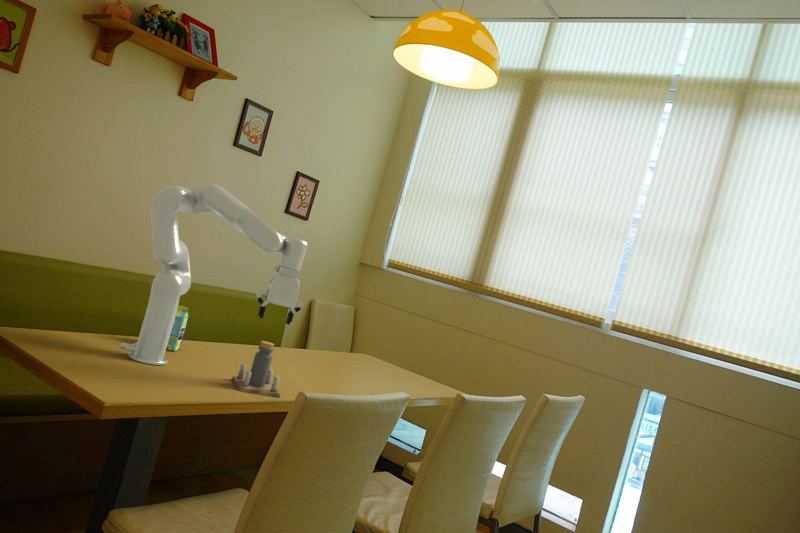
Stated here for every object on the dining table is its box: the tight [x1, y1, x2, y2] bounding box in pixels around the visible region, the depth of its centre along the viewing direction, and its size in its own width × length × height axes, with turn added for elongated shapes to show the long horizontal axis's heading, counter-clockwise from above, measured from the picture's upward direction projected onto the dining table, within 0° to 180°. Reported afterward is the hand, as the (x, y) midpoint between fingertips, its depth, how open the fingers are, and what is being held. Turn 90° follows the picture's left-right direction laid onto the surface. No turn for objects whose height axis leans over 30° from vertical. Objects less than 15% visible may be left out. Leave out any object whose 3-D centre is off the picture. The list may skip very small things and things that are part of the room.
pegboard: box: [231, 363, 281, 398], centre depth 212 cm, size 14×14×6 cm
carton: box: [166, 304, 190, 353], centre depth 235 cm, size 7×8×18 cm
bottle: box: [249, 340, 275, 387], centre depth 212 cm, size 6×6×15 cm
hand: (274, 320), depth 212 cm, fingers open, 9 cm apart
